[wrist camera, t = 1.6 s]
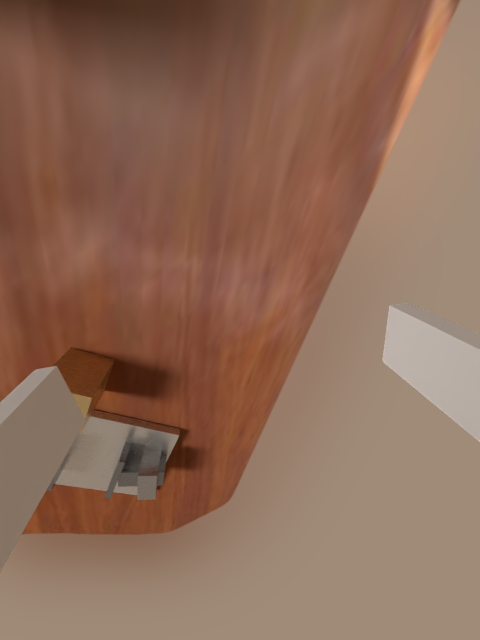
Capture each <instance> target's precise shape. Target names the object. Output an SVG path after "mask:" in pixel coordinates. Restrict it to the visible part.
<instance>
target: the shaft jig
mask: <svg viewBox="0 0 480 640" xmlns="http://www.w3.org/2000/svg"><path fill="white" fill-rule="evenodd" d="M179 435H180V429H179V428H174V427H170V426H165V425H161V424H156V423H152V422H148V421H143V420H139V419H134V418H130V417H125V416H121V415H116V414H112V413H107V412H103V411H98V410H94V411H93V413H92V414H91V416H90V418H89V420H88V422H87V423H86V425H85V427H84V429H83V431H82V432H81V434H79V433H78V435H77V437H76V439H75V440H74V442H73V444H72V446H71V447H70V449H69V451H68V453H67V455H66V456H65V458H64V460H63V462H62V463H61V465H60V467H59V469H58V470H57V472H56V474H55V476H54V477H53V479H52V481H51V483H50V485H49V486H48V488H47V490H48V491H52V489H53V487H54V485H55V484H60V485H67V486H74V487H81V488H89V489H96V490H103V491H106V494H105V497H104V498H109V499H110V498H111V496H112V493H113V492H118V493H125V494H132V495H137V500H149V499H155V498H156V492H157V486H163V483H164V476H165V469H166V462H167V460H168V458H169V456H170V454H171V452H172V450H173V448H174V446H175V444H176V442H177V439H178V437H179Z"/></svg>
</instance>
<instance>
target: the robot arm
mask: <svg viewBox="0 0 480 640" xmlns="http://www.w3.org/2000/svg"><path fill="white" fill-rule="evenodd" d="M383 362H384V363H385V364H386V365H387V366H388V367H390V368H391V369H392V370H393V371H395V372H396V373H397V374H398V375H400V376H401V377H402V378H403V379H404V380H405V381H407V382H408V383H409V384H410V385H412V386H413V387H414V388H415V389H416V390H417V391H419V392H420V393H421V394H422V395H423V396H425V397H426V398H427V399H428V400H430V401H431V402H432V403H433V404H434V405H436V406H437V407H438V408H439V409H440V410H442V411H443V412H444V413H445V414H447V415H448V416H449V417H450V418H451V419H453V420H454V421H455V422H456V423H457V424H459V425H460V426H461V427H462V428H463V429H465V430H466V431H467V432H468V433H470V434H471V435H472V436H473V437H474V438H475V439H477V440H478V441H479V442H480V334H479V333H477V332H475V331H472V330H470V329H468V328H465V327H463V326H461V325H458V324H456V323H454V322H452V321H449V320H447V319H445V318H443V317H440V316H438V315H436V314H433V313H431V312H428V311H426V310H424V309H422V308H420V307H417V306H415V305H413V304H410V303H408V302H405V303H399V304H393V305H390V306H389V313H388V322H387V329H386V337H385V346H384V353H383ZM85 421H86V420H85V418H84V416H83V414H82V412H81V411H80V409H79V407H78V405H77V403H76V401H75V399H74V397H73V395H72V394H71V392H70V390H69V388H68V386H67V384H66V382H65V380H64V378H63V377H62V375H61V373H60V371H59V369H58V367H57V366H53V367H47V368H42V369H36V370H34V371H33V372H32V373H31V374H30V375H29V376H28V377H27V378H26V379H25V380H24V381H23V382H22V383H21V384H19V385H18V386H17V387H16V388H15V389H14V390H13V391H12V392H11V393H10V394H9V395H8V396H7V397H6V398H4V399H3V400H2V401H1V402H0V571H1V569H2V568H3V566H4V564H5V562H6V561H7V559H8V557H9V555H10V554H11V552H12V550H13V548H14V546H15V545H16V543H17V541H18V539H19V538H20V536H21V534H22V532H23V531H24V529H25V527H26V525H27V523H28V522H29V520H30V518H31V516H32V515H33V513H34V511H35V509H36V508H37V506H38V504H39V502H40V500H41V499H42V497H43V495H44V493H45V492H46V490H47V488H48V486H49V485H50V483H51V481H52V479H53V477H54V476H55V474H56V472H57V470H58V469H59V467H60V465H61V463H62V462H63V460H64V458H65V456H66V455H67V453H68V451H69V449H70V447H71V446H72V444H73V442H74V440H75V439H76V437H77V435H78V433H79V432H80V430H81V428H82V426H83V424H84V423H85Z"/></svg>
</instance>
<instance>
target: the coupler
mask: <svg viewBox="0 0 480 640" xmlns="http://www.w3.org/2000/svg"><path fill="white" fill-rule="evenodd" d="M114 361H115V360H114V359H110V358H107V357H103V356H100V355H96V354H93V353H89V352H86V351H82V350H79V349H75V348H72V347H71V348H70V349H69V350H68V351H67V352H66V353H65V354H64V355H63V356H62V357H61V358H60V359H59V360H58V361H57V362H56V363H55V364H54V366H57V367H58V369H59V371H60V373H61V375H62V377H63V378H64V380H65V382H66V384H67V386H68V388H69V390H70V392H71V394H72V395H73V397H74V399H75V401H76V403H77V405H78V407H79V409H80V411H81V412H82V414H83V416H84V418H85V420H86V421H85V423H84V424H83V426H82V428H81V430H80V432H79V434H81V432H82V431H83V429H84V427H85V425H86V423H87V422H88V420H89V418H90V416H91V414H92V413H93V411H94V409H95V407H96V405H97V404H98V402H99V400H100V398H101V396H102V395H103V393H104V391H105V388H106V385H107V382H108V379H109V376H110V373H111V370H112V367H113V364H114Z"/></svg>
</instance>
